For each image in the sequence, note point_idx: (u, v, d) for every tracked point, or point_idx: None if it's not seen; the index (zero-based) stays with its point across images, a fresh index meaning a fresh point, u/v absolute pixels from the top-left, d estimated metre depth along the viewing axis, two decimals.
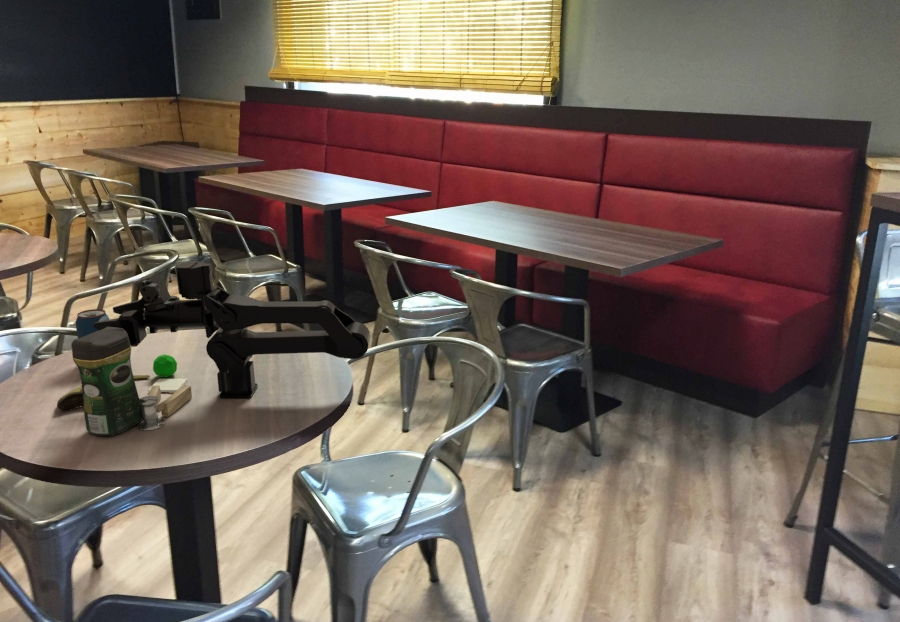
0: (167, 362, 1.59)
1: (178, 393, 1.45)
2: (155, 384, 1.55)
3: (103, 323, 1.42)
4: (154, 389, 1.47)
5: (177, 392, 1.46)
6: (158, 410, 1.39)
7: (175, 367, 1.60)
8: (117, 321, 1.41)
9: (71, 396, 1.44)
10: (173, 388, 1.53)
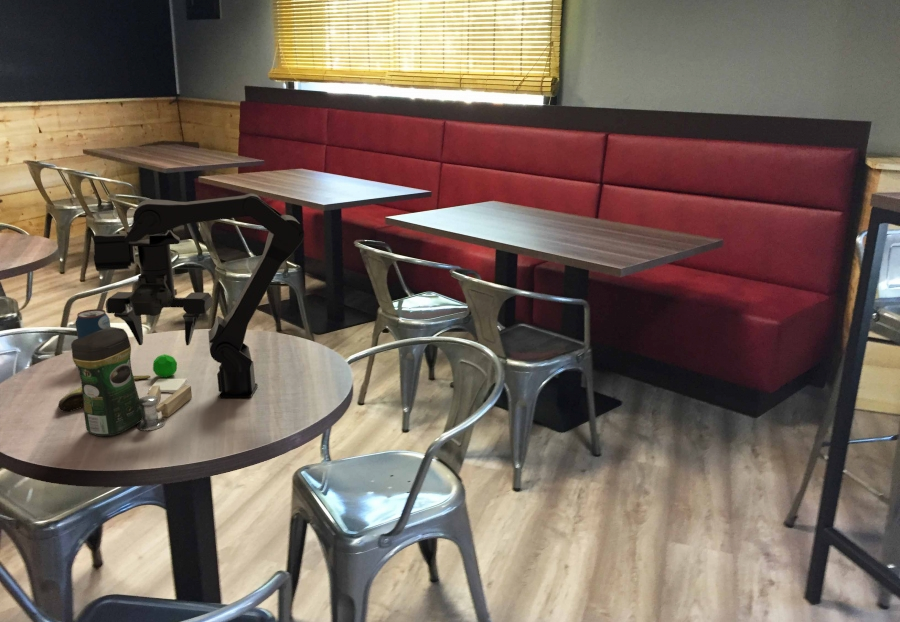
0: (167, 362, 1.59)
1: (178, 393, 1.45)
2: (155, 384, 1.55)
3: (190, 335, 1.44)
4: (154, 389, 1.47)
5: (177, 392, 1.46)
6: (158, 410, 1.39)
7: (175, 367, 1.60)
8: (193, 320, 1.43)
9: (72, 397, 1.44)
10: (173, 388, 1.53)
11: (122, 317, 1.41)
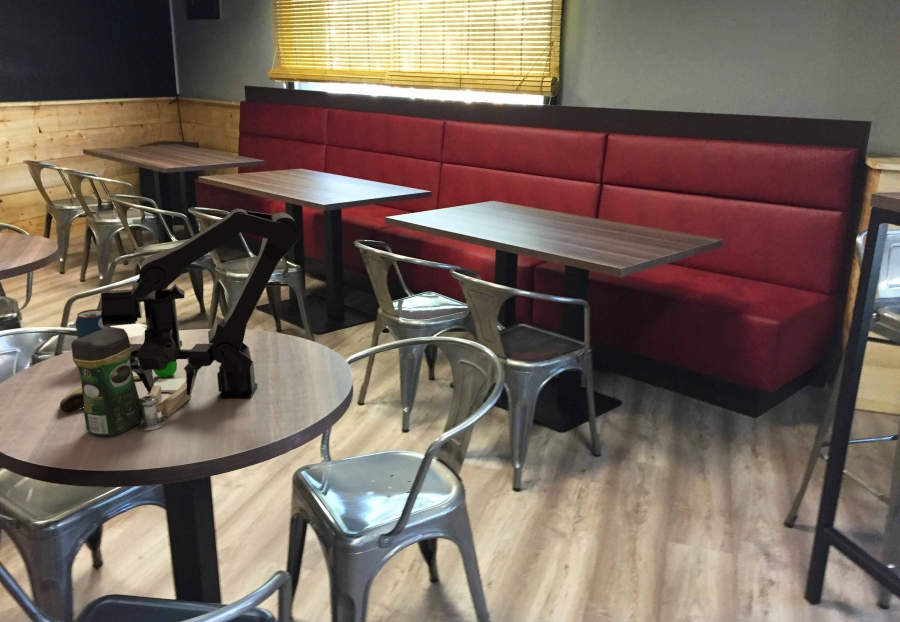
0: None
1: (177, 393, 1.45)
2: (155, 384, 1.55)
3: (191, 385, 1.47)
4: (155, 389, 1.47)
5: (176, 392, 1.46)
6: (158, 410, 1.39)
7: (175, 367, 1.60)
8: None
9: (74, 397, 1.44)
10: (173, 388, 1.53)
11: (134, 370, 1.44)
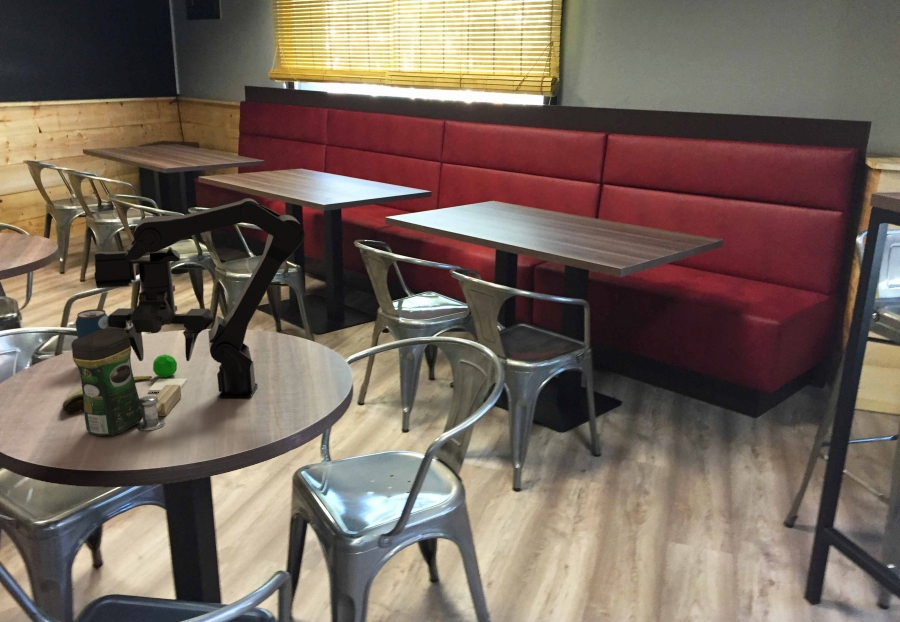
0: (167, 362, 1.59)
1: (171, 392, 1.46)
2: (155, 384, 1.55)
3: (190, 351, 1.45)
4: (165, 389, 1.47)
5: (169, 391, 1.46)
6: (157, 409, 1.39)
7: (175, 367, 1.60)
8: (193, 336, 1.44)
9: (77, 398, 1.43)
10: None
11: None
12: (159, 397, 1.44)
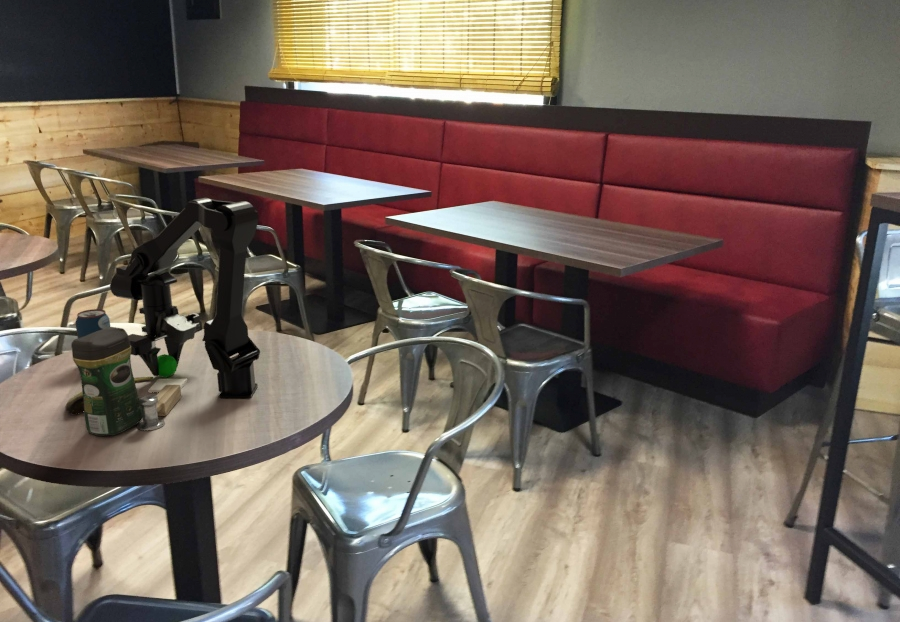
0: (167, 362, 1.59)
1: (171, 392, 1.46)
2: (155, 384, 1.55)
3: None
4: (165, 389, 1.47)
5: (169, 391, 1.46)
6: (157, 409, 1.39)
7: (175, 367, 1.60)
8: None
9: (80, 399, 1.43)
10: None
11: (155, 352, 1.54)
12: (159, 397, 1.44)
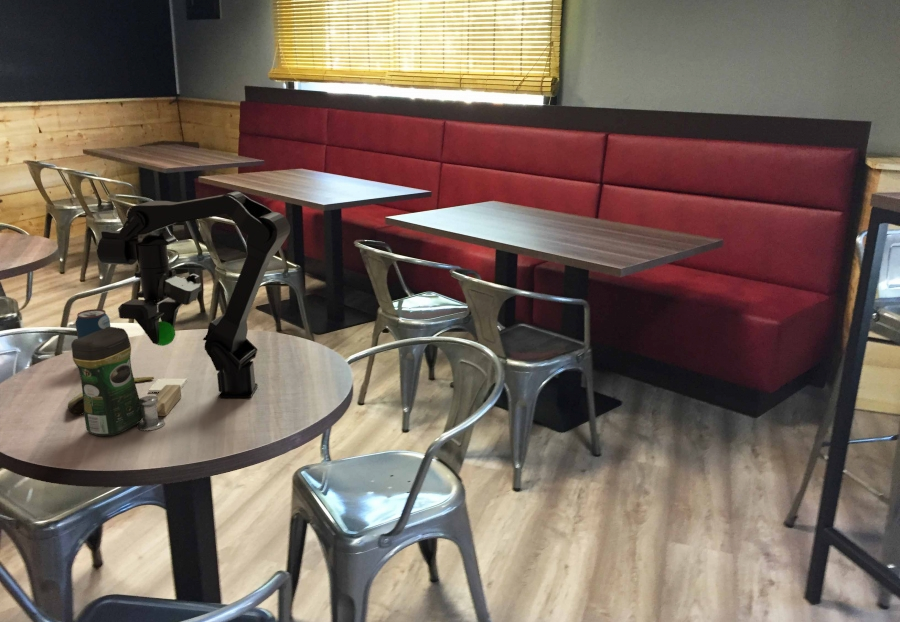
0: (167, 328, 1.51)
1: (171, 392, 1.46)
2: (155, 384, 1.55)
3: None
4: (165, 389, 1.47)
5: (169, 391, 1.46)
6: (157, 409, 1.39)
7: (174, 333, 1.52)
8: None
9: (82, 400, 1.43)
10: None
11: (159, 316, 1.46)
12: (159, 397, 1.44)
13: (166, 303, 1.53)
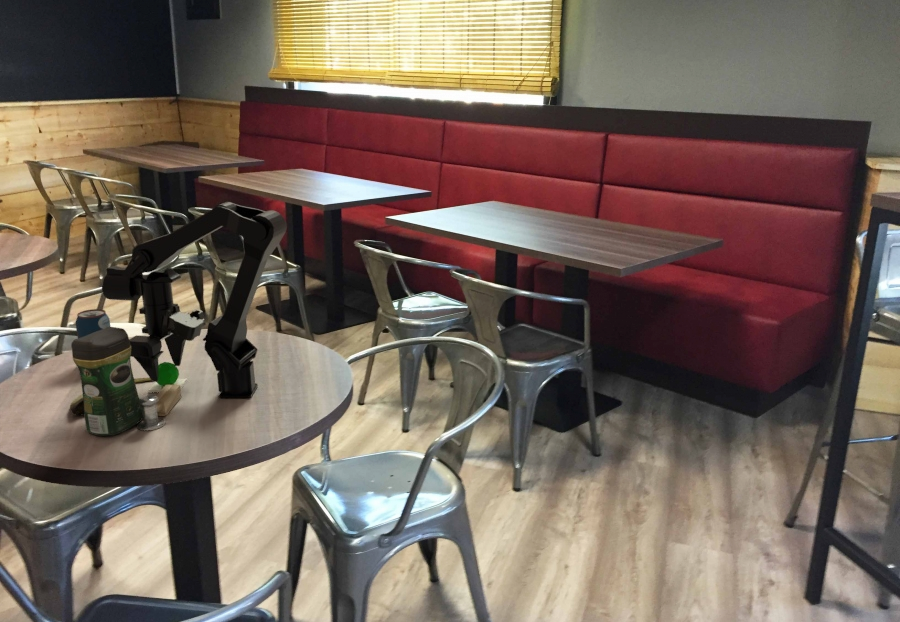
0: (171, 369, 1.53)
1: (171, 392, 1.46)
2: (155, 384, 1.55)
3: None
4: (165, 389, 1.47)
5: (169, 391, 1.46)
6: (157, 409, 1.39)
7: (178, 374, 1.55)
8: None
9: None
10: None
11: (158, 355, 1.46)
12: (159, 397, 1.44)
13: (174, 335, 1.57)
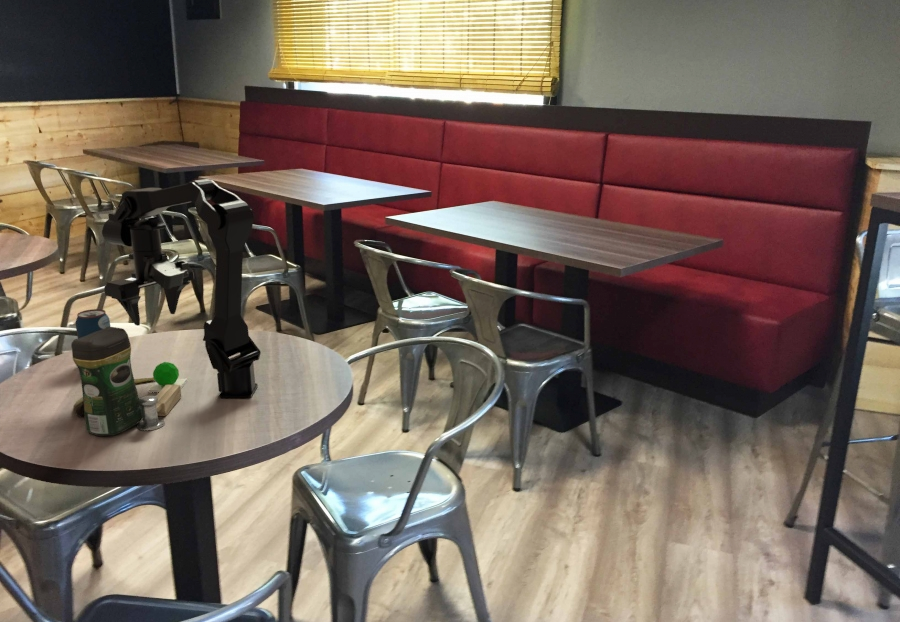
0: (171, 369, 1.53)
1: (171, 392, 1.46)
2: (155, 384, 1.55)
3: None
4: (165, 389, 1.47)
5: (169, 391, 1.46)
6: (157, 409, 1.39)
7: (178, 374, 1.55)
8: None
9: None
10: None
11: (134, 300, 1.52)
12: (159, 397, 1.44)
13: None
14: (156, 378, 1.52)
